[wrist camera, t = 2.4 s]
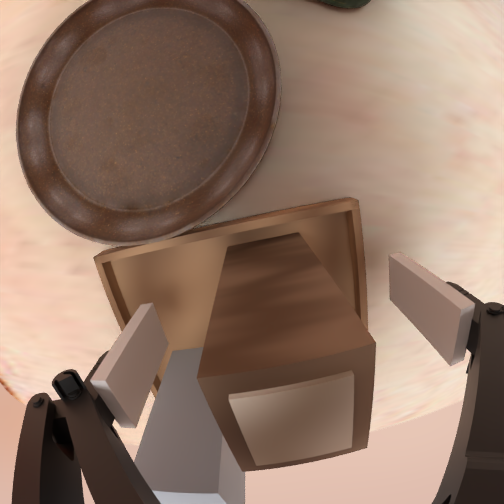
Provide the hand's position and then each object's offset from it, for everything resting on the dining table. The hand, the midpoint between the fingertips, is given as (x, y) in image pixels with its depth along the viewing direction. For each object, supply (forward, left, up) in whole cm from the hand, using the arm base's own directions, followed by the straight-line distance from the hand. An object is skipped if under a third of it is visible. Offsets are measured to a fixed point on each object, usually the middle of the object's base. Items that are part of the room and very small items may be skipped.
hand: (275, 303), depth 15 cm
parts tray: (+2, +3, -4) cm, 6 cm away
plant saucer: (+6, -13, -5) cm, 15 cm away
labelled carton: (0, 0, -4) cm, 4 cm away
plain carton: (+6, +7, -4) cm, 10 cm away
